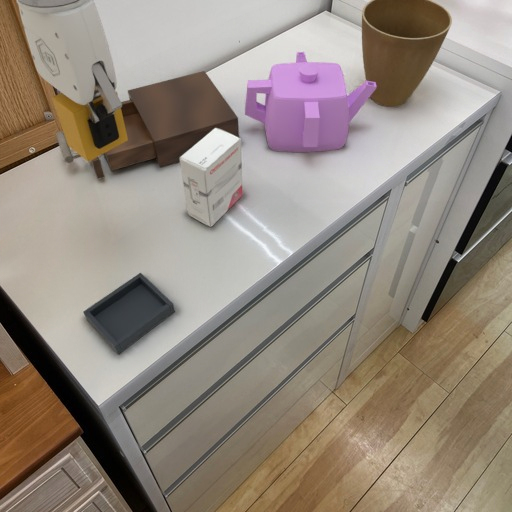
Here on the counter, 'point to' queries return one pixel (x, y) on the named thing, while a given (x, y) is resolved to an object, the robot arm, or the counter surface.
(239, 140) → the ink box
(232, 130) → the cabinet
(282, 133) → the teakettle
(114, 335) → the dark grey tray
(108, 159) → the drawer
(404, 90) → the plant pot
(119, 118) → the box
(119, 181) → the counter surface
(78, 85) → the robot arm
